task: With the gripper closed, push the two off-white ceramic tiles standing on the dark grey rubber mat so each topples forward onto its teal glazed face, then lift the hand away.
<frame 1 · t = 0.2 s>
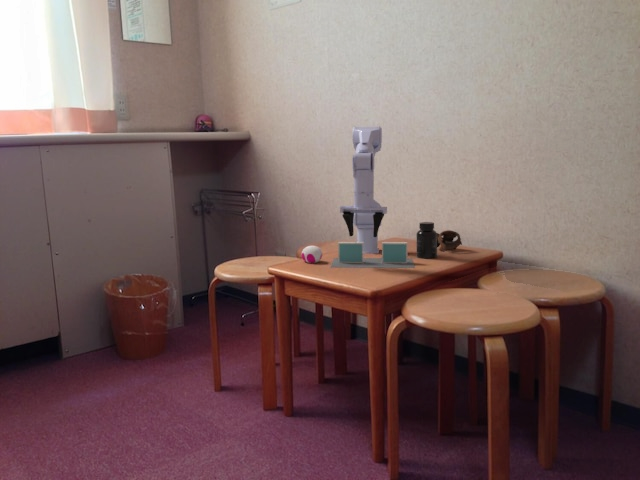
hand: (363, 236, 175), 10 cm above the table, fingers open, 7 cm apart
tile 1: (350, 262, 183), resting on mat
stress ball: (310, 264, 184), on the table
supplement bottle: (426, 258, 190), on the table
brown curved piece: (445, 250, 204), on the table
mat: (372, 263, 182), on the table
tile 2: (394, 262, 182), resting on mat
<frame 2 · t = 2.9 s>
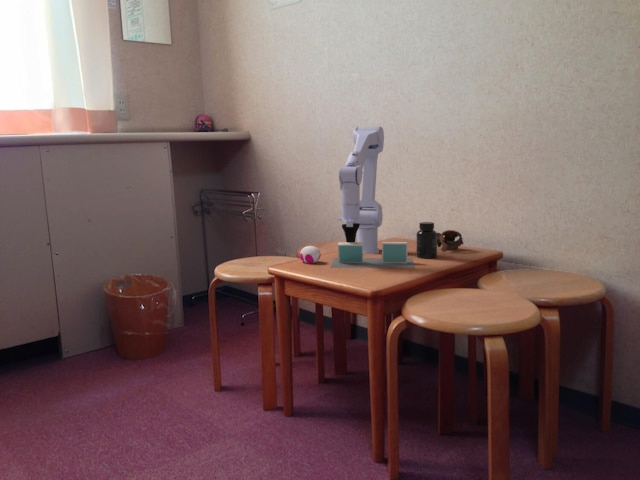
hand: (350, 246, 182), 6 cm above the table, fingers closed
tile 1: (350, 261, 183), point 1 cm above the table, tilted 17°, touching mat
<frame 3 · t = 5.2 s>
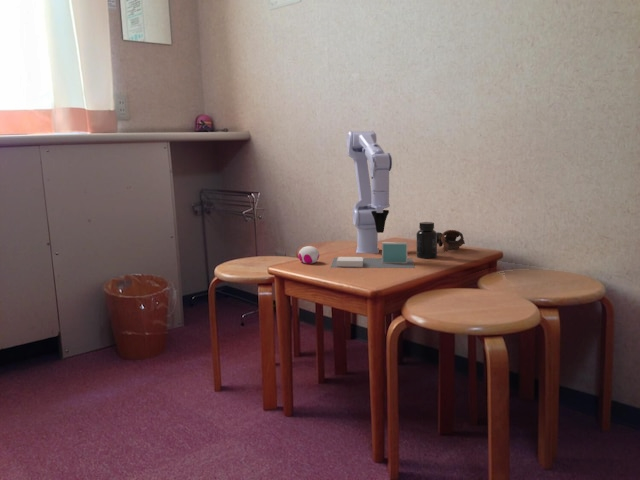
hand: (380, 232, 185), 9 cm above the table, fingers closed
tile 1: (350, 259, 182), point 1 cm above the table, tilted 90°, touching mat
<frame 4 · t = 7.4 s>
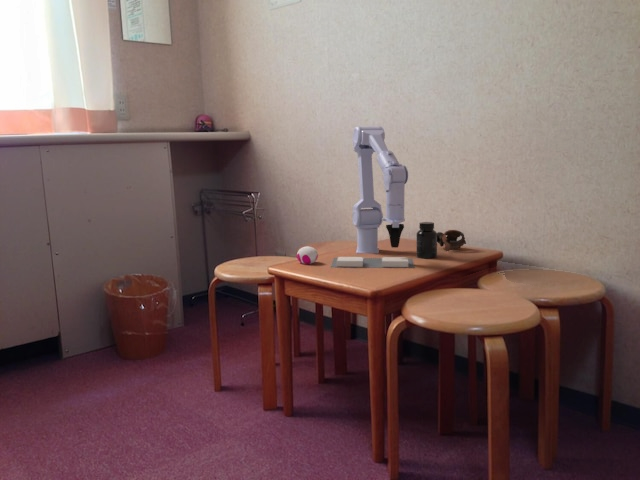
hand: (394, 247, 180), 6 cm above the table, fingers closed
tile 2: (394, 259, 180), point 1 cm above the table, tilted 90°, touching mat
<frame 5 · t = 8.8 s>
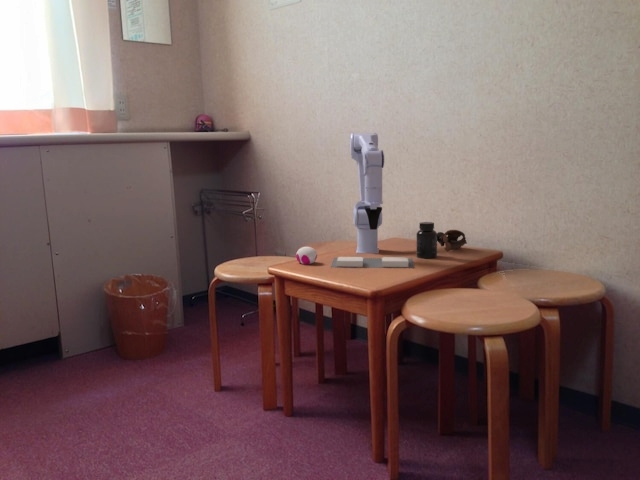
hand: (373, 229, 186), 10 cm above the table, fingers closed
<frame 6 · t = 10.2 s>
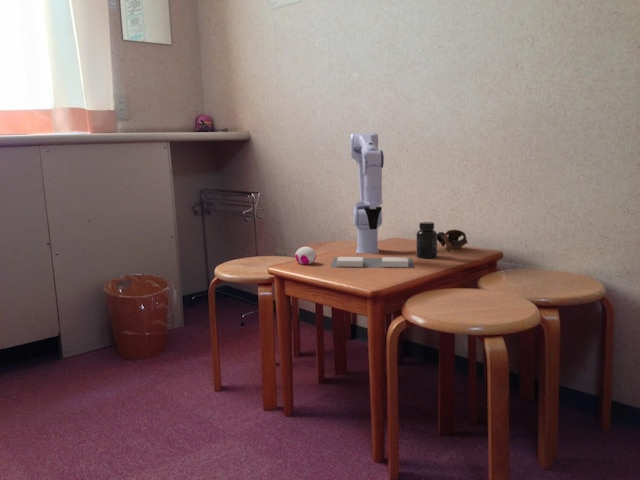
hand: (373, 229, 186), 10 cm above the table, fingers closed
at the end: tile 1 tilted 90°; tile 2 tilted 90° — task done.
